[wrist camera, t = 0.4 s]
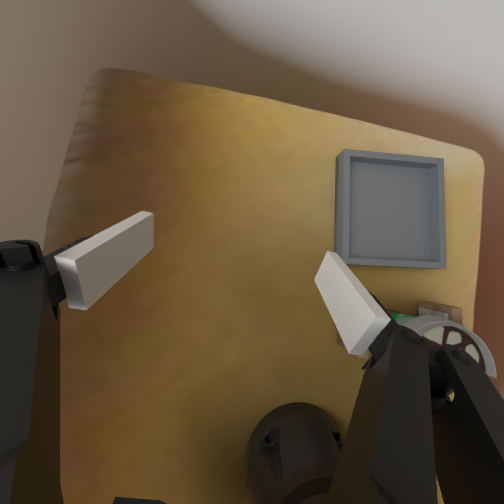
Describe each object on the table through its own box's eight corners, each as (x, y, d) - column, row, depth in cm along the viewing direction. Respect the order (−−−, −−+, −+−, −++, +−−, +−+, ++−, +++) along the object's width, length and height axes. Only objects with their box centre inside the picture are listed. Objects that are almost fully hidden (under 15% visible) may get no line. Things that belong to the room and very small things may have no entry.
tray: (430, 268, 32) (446, 268, 30) (334, 263, 31) (342, 263, 29) (428, 166, 34) (443, 158, 31) (335, 157, 32) (344, 149, 30)
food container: (418, 304, 32) (500, 323, 22) (417, 342, 31) (501, 378, 22) (348, 299, 31) (400, 316, 21) (346, 338, 31) (399, 374, 21)
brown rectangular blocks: (427, 343, 32) (463, 358, 27) (337, 342, 30) (356, 357, 25) (426, 301, 32) (461, 307, 27) (337, 298, 31) (357, 304, 26)
